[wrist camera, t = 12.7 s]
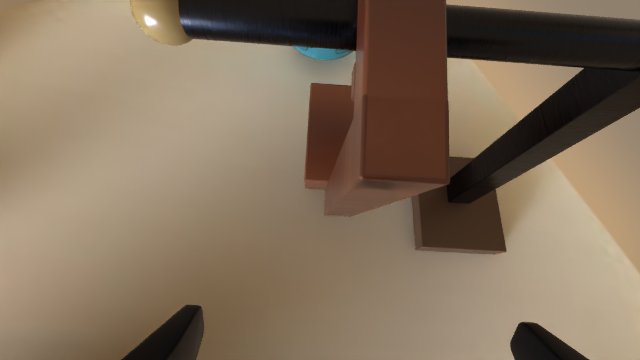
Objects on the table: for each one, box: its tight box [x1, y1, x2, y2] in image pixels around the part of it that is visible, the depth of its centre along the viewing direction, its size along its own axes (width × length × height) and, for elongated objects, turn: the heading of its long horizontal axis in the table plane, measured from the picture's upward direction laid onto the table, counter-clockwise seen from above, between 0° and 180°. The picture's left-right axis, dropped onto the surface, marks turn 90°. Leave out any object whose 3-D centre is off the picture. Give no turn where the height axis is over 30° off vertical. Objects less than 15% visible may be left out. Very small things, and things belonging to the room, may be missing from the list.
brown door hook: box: [304, 0, 450, 217], centre depth 12 cm, size 7×4×12 cm, turn 177°
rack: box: [130, 0, 640, 254], centre depth 13 cm, size 6×16×14 cm, turn 87°
